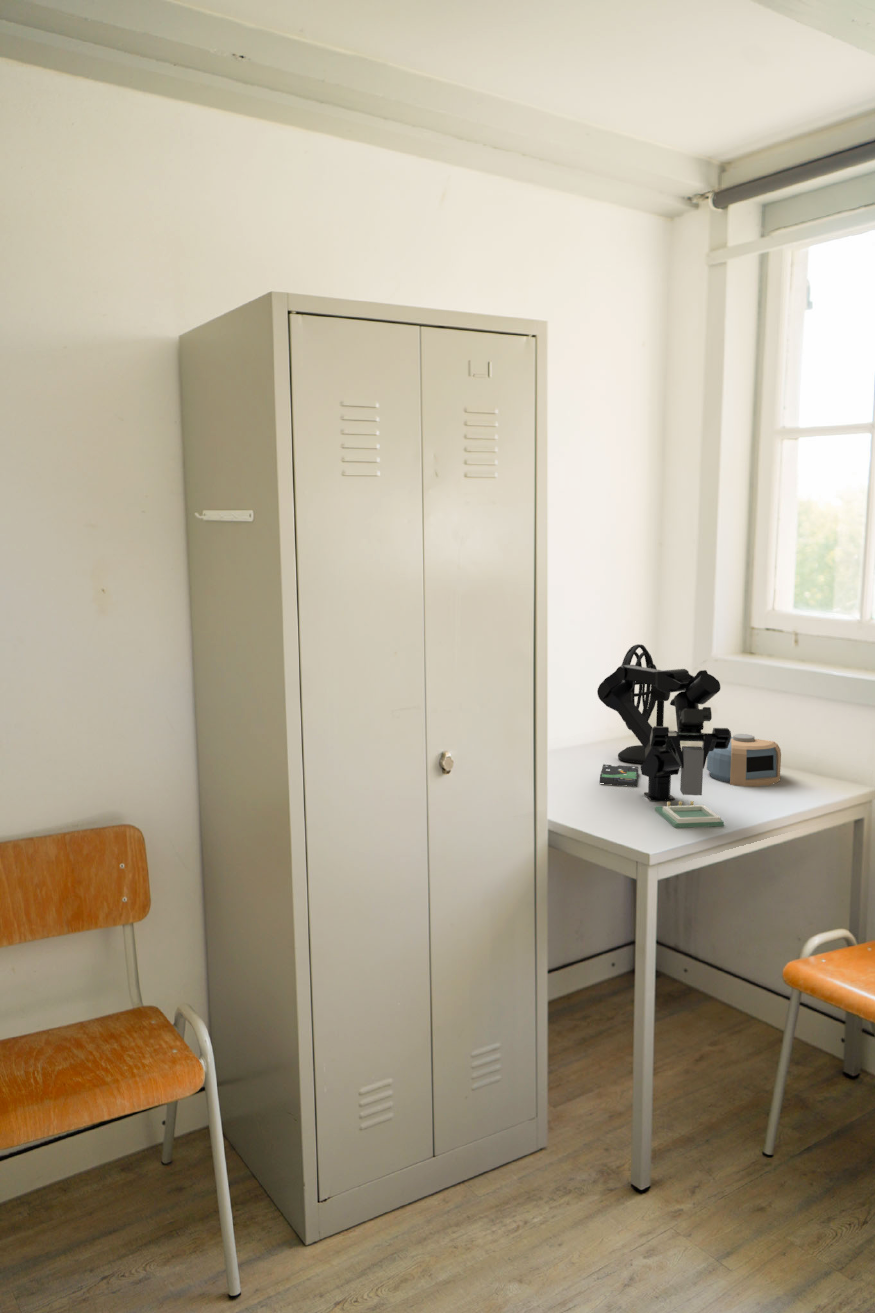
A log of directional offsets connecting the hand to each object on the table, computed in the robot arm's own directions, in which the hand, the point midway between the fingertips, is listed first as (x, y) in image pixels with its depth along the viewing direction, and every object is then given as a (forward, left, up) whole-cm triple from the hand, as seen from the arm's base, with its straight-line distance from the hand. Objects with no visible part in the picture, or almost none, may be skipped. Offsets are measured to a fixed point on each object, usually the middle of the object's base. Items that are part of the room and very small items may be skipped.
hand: (692, 767), depth 228 cm
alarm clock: (-39, +31, -14) cm, 51 cm away
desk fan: (-65, +11, -14) cm, 67 cm away
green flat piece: (-3, +1, -13) cm, 14 cm away
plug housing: (-1, 0, -7) cm, 7 cm away
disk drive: (-41, -5, -14) cm, 43 cm away
